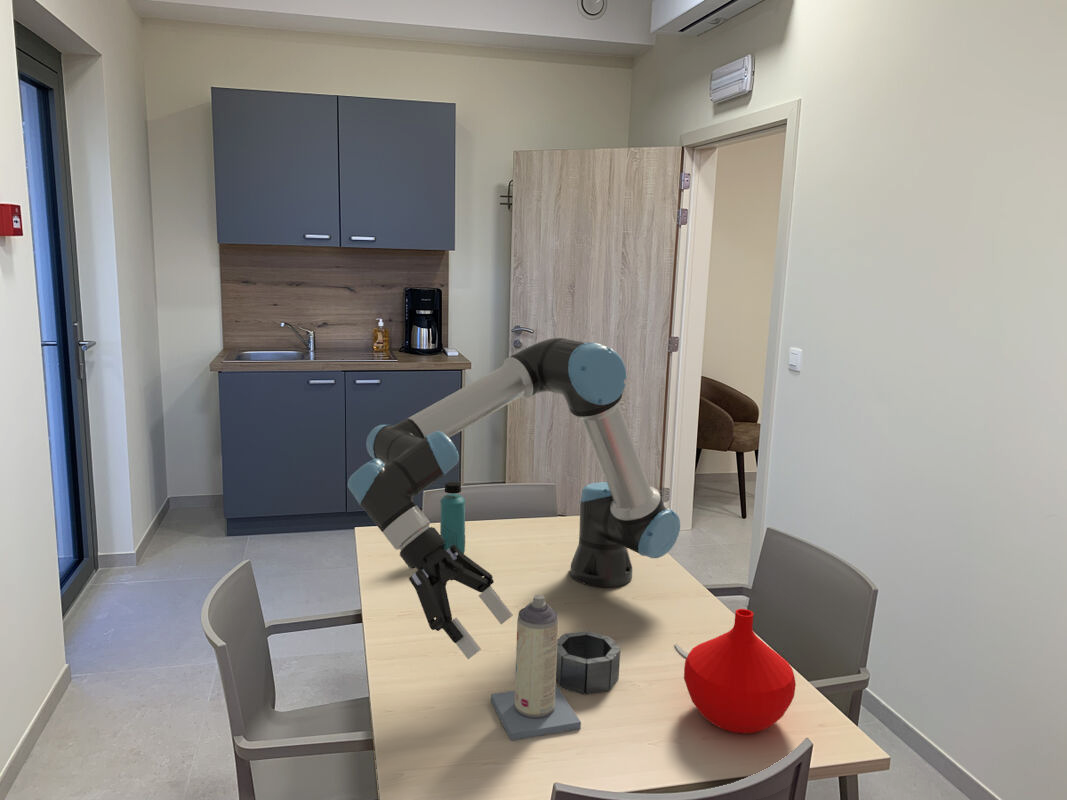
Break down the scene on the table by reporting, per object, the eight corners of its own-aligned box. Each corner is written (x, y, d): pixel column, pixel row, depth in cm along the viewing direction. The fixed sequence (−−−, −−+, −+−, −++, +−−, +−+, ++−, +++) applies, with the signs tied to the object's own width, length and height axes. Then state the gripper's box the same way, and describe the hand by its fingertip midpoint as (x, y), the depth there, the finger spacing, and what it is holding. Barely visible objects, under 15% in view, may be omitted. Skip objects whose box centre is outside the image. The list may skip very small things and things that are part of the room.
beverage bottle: (470, 557, 202) (471, 482, 198) (454, 565, 196) (455, 488, 193) (450, 551, 205) (451, 477, 201) (433, 559, 200) (434, 483, 196)
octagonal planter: (601, 657, 154) (602, 628, 153) (626, 688, 143) (628, 657, 142) (545, 665, 150) (546, 636, 149) (567, 697, 139) (568, 666, 138)
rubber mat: (555, 690, 142) (555, 684, 141) (580, 728, 130) (580, 721, 130) (490, 700, 138) (491, 694, 137) (511, 740, 126) (511, 733, 126)
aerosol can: (528, 692, 138) (532, 584, 135) (562, 704, 135) (566, 594, 131) (506, 710, 133) (510, 598, 129) (541, 723, 129) (546, 609, 126)
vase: (660, 699, 140) (667, 598, 137) (744, 680, 147) (753, 584, 144) (723, 760, 123) (733, 646, 120) (814, 735, 131) (826, 628, 127)
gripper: (435, 528, 150) (505, 617, 147) (361, 576, 127) (443, 682, 124) (460, 506, 147) (532, 596, 145) (390, 550, 124) (475, 658, 122)
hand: (491, 636), depth 135 cm, fingers open, 13 cm apart
